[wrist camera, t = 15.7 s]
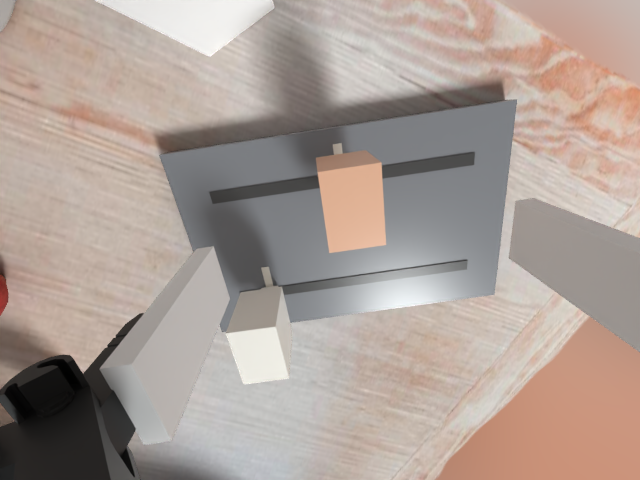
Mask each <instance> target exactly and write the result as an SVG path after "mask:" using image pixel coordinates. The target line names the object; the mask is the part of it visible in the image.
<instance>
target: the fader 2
mask: <svg viewBox="0 0 640 480" xmlns="http://www.w3.org/2000/svg"><path fill="white" fill-rule="evenodd" d="M316 164H317V172H318V179H319V185H320V192H321V199H322V206H323V213H324V220H325V227H326V233H327V240H328V247H329V253H334V252H341V251H348V250H355V249H362V248H369V247H376V246H383V245H386V233H385V216H384V198H383V181H382V163H381V162H380V161H379V160H378V159H376V158H375V157H374V156H373V155H371V154H370V153H369V152H367V151H366V150H363V151H356V152H350V153H343V154H336V155H330V156H323V157H317V158H316Z"/></svg>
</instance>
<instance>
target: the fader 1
mask: <svg viewBox="0 0 640 480" xmlns="http://www.w3.org/2000/svg"><path fill="white" fill-rule="evenodd" d="M226 336H227V339H228V342H229V344H230V347H231V350H232V353H233V356H234V359H235V362H236V364H237V367H238V370H239V373H240V376H241V379H242V382H243V384H252V383H259V382H267V381H274V380H282V379H289V374H290V360H291V346H292V328H291V324H290V320H289V316H288V311H287V307H286V303H285V298H284V294H283V290H282V287H278V286H271V287H264V288H261V289H260V290H253V291H246V292H241V293H240V296H239V298H238V301H237V304H236V307H235V309H234V312H233V315H232V318H231V320H230V323H229V326H228V329H227V331H226Z"/></svg>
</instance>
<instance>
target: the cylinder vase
mask: <svg viewBox="0 0 640 480" xmlns="http://www.w3.org/2000/svg"><path fill="white" fill-rule="evenodd" d="M15 2H16V0H0V32H1V31H2V30H3V29H4V28H5V26H6V25H7V23H8V21H9V19H10V17H11V15H12V13H13V10H14V6H15Z"/></svg>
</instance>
